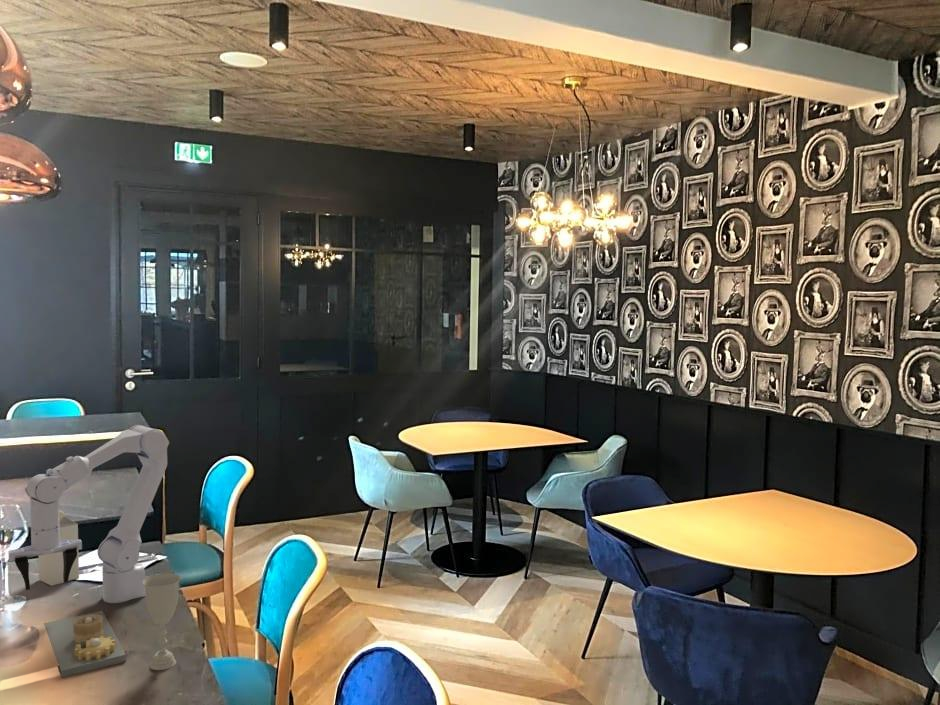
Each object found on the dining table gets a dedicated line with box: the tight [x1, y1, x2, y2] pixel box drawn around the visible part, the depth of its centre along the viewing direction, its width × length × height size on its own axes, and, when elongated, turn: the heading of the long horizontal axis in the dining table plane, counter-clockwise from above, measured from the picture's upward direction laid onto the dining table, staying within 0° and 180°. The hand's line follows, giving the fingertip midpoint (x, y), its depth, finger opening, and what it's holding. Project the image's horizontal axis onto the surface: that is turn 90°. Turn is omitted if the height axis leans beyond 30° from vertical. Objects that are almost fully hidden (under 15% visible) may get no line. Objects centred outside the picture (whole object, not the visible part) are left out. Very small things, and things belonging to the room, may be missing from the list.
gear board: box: [44, 610, 127, 679], centre depth 162 cm, size 12×26×6 cm, turn 36°
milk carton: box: [38, 509, 80, 587], centre depth 198 cm, size 7×7×19 cm
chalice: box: [143, 573, 182, 671], centre depth 154 cm, size 7×7×18 cm
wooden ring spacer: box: [73, 615, 103, 644], centre depth 162 cm, size 6×6×4 cm
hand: (46, 584), depth 171 cm, fingers open, 7 cm apart
